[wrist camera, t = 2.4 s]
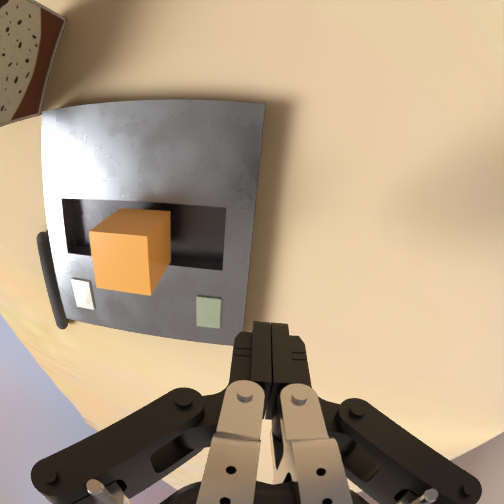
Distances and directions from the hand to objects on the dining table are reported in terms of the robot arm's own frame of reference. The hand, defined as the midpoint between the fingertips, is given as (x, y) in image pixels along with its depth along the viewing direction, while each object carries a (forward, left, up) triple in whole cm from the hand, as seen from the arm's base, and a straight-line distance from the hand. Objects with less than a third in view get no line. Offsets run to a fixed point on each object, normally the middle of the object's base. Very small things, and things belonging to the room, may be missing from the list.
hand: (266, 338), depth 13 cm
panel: (0, -10, -12) cm, 16 cm away
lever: (0, -9, -12) cm, 15 cm away
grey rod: (+7, -21, -12) cm, 25 cm away
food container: (-15, -23, -13) cm, 30 cm away
